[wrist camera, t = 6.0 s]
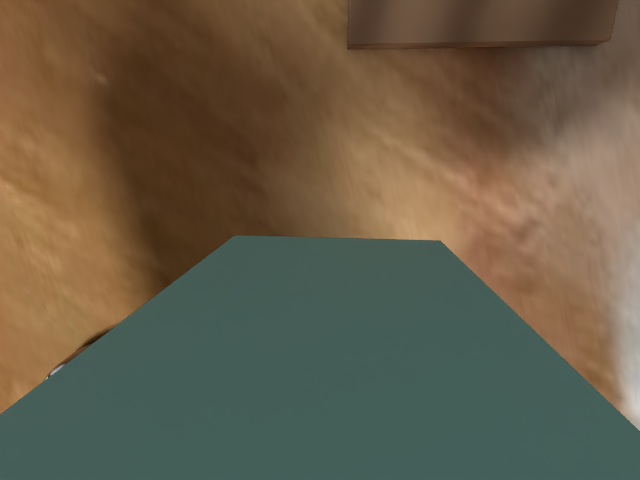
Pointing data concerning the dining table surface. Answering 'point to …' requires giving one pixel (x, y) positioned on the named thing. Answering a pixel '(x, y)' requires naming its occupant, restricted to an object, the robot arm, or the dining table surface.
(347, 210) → the dining table surface
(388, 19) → the peg base
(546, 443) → the teal toy cube
